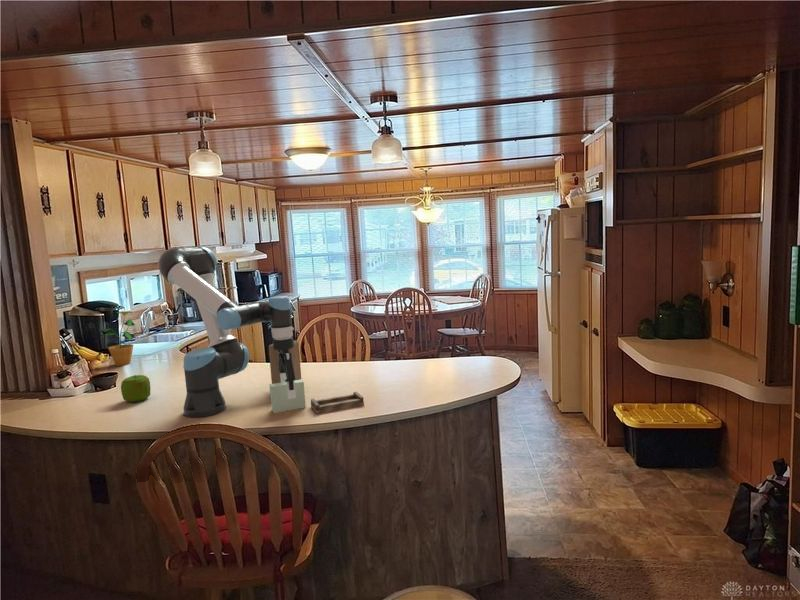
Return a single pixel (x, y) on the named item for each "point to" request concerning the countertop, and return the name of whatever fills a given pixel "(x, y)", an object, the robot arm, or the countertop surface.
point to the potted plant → (121, 352)
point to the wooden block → (274, 362)
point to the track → (337, 403)
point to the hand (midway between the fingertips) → (288, 393)
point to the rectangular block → (286, 396)
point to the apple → (135, 388)
